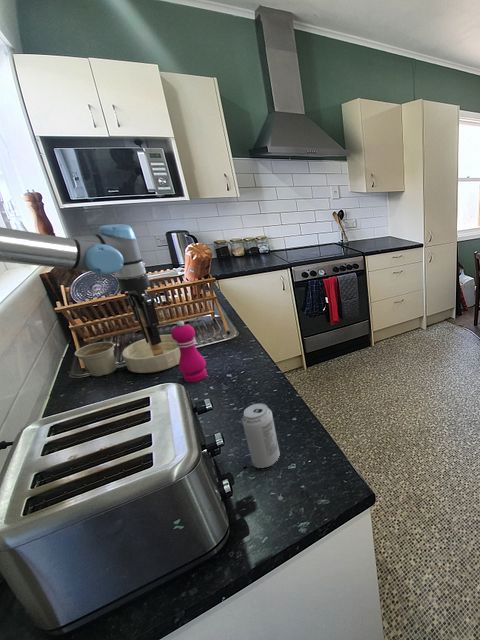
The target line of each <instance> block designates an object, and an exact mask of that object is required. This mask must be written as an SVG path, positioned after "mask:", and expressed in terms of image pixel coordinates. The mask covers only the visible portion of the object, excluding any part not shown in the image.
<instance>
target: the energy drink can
mask: <svg viewBox="0 0 480 640" xmlns="http://www.w3.org/2000/svg"><path fill="white" fill-rule="evenodd" d="M241 422H242V427H243V430H244V435H245V439H246V443H247V448H248V451H249V456H250V460H251V464H252V466H253V467H254V468H257V469H259V468H264V467H269V466H271V465H273V464H274V463H275V462H276V461H277V462H278V460H279V459H280V457H281V453H280V452H281V451H280V448H279V442H278V438H277V432H276V431H277V430H276V427H275V421H274V417H273V411H272V410H271V409H270V408H269V407H268V405H267V404H265V403H263V402H262V403H260V402H259V403H253V404H251V405H249V406H247V407H246V408H245V409H244V410H243V416H242V418H241ZM279 456H280V457H279ZM278 458H279V459H278ZM277 462H276V463H277ZM273 466H274V465H273Z"/></svg>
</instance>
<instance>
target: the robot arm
mask: <svg viewBox="0 0 480 640" xmlns="http://www.w3.org/2000/svg"><path fill="white" fill-rule="evenodd" d="M98 230H99V232H98V233H96V234H91V235H90V234H89V235H80V236H72V237H71V236H70V237H63V236H57V235H50V234H44V233H38V232H32V231H27V230H20V229H14V228H8V227H3V226H0V262H1V263H10V264H19V265H27V266H28V265H29V266H39V267H47V268H49V267H50V268H58V269H65V270H66V269H67V270H75V271H84V272H90V273H91V272H92V273H94V274H97V275H104V276H105V275H109V276H110V275H113V274H114V276H115V277H116V278H117V279H116V281H117V284H118V287H119V289H120V291H123V292H124V296H125V298H126V299H127V302H128V305H129V307H130V310H131V312H132V315H133V317H134V320H135V322H138V324H139V325H140V328H141V330H142V334H143V337H144V339H145V340H146V342H147V343H149V341H148V339H147V336H146V333H145V330H144V328H145V329H146V330H147V333H148V335H149V338H150V341H151V344H152V345H156V344H159V343H162V341H161V338H160V335H161V334H160V333H159V329H158V327H157V326H160V320H159V317H158V313H157V310H156V306H155V299H154V298H153V297H152V298H150V296H149V295H150V294H149V293H148V292H147V290H146V289H147V288H149V287H150V286H151V283H150V279H149V277H148V275H147V274H146V273H147V270H146V267H145V266H146V263H145V262H144V261H143V258H142V255H141V250H140V248H139V244H138V239H137V238H136V235H135V233H134V230H133V228H132V227H131V225H128V224H123V223H115V224H114V223H113V224H106V225H101V226H99V228H98ZM136 305H137V306H136ZM140 305H141V306H140ZM137 308H140V310H141V313H142V315H143V318H144V320H145V323H146V325H147V326H146V327H143V324H142V321H141V318H140V315H139V312H138V309H137Z"/></svg>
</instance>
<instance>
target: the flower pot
mask: <svg viewBox="0 0 480 640" xmlns="http://www.w3.org/2000/svg"><path fill="white" fill-rule="evenodd" d="M114 351H115V342H112V341H99V342H94V343H90V344H87V345H84V346H82V347H80V348H78V349H77V350H76V351H75V352H74V356H76V357H77V358H78V359H80V360H81V362H82V364H84V366H85V367H86V368H87V370H88V372H89V373H90V374H91V376H92V377H102V376H104V375H106V376H108V375H109V374H111V373H114V372H115V371H116V370H117V363H116V358H115V352H114Z"/></svg>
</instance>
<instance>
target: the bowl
mask: <svg viewBox="0 0 480 640" xmlns="http://www.w3.org/2000/svg"><path fill="white" fill-rule="evenodd" d="M159 335H160V338H161V341H162V343H160V345H161V348H162V351H163V354H161V355H158V356H153V353H152V350H151V347H150V344H149V343H147V342H146V340H145V338H143V339H140V340H136V341H135V342H133V343H130V344H129V345H127V346H126V347H125V348H124V349H123V351H122V352H121V353H122V358H123V360H124V363H125V366H126V368H127V370H128V371H130V372H131V373H138V374H150V373H156V372H161V371H165V370H168V369H171V368H173V367H176V366H177V365H179V360H180V349H179V347H177V344H176V341H175V340H174V339H173V338H172V336H171V333H170V334H159Z"/></svg>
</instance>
